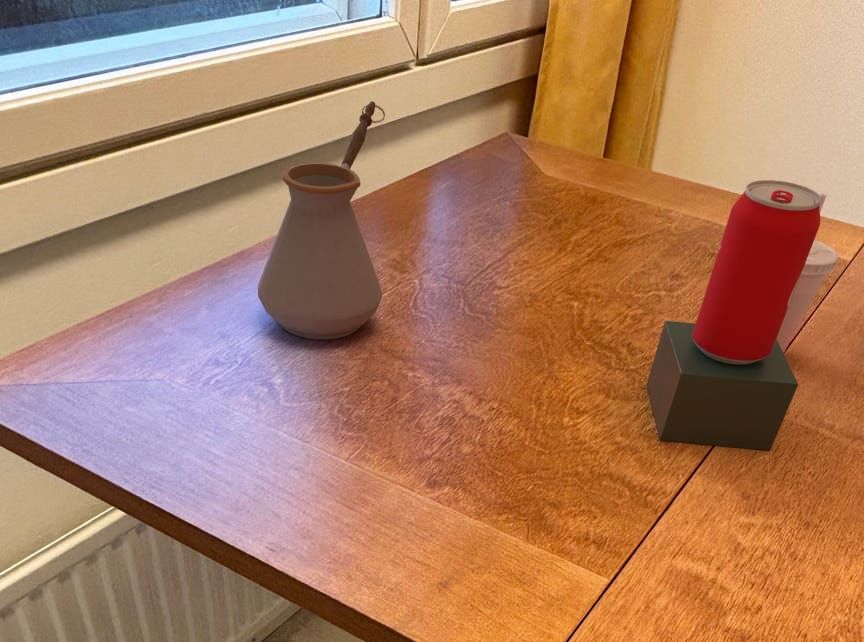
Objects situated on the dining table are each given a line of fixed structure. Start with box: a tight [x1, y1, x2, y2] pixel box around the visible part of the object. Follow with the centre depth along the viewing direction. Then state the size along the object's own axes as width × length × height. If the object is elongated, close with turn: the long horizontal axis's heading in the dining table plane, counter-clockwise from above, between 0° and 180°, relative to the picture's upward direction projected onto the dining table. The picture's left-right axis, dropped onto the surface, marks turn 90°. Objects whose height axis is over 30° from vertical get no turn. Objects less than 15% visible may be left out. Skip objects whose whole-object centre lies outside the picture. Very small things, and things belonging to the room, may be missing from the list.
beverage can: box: [692, 179, 821, 365], centre depth 67 cm, size 6×6×12 cm
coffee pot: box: [257, 100, 386, 340], centre depth 82 cm, size 21×12×15 cm, turn 164°
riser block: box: [645, 320, 799, 451], centre depth 74 cm, size 9×9×6 cm
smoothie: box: [777, 193, 839, 354], centre depth 80 cm, size 6×6×14 cm
